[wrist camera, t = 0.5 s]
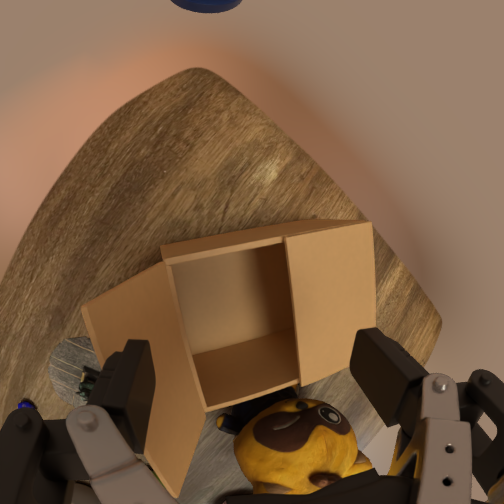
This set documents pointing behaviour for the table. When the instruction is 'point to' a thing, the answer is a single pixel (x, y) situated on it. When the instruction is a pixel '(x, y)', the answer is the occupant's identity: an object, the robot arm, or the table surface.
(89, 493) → the smart speaker
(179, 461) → the flap
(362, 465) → the toy character
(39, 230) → the table surface
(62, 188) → the table surface
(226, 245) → the carton
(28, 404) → the die
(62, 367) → the sculpture
